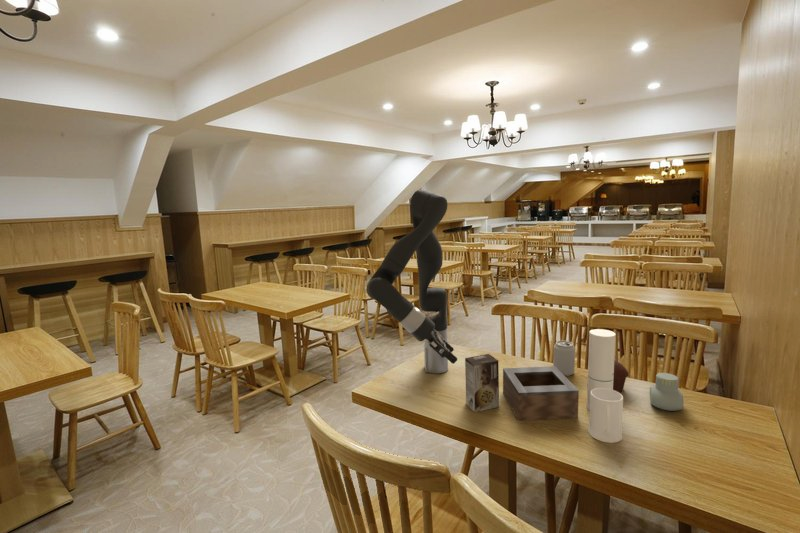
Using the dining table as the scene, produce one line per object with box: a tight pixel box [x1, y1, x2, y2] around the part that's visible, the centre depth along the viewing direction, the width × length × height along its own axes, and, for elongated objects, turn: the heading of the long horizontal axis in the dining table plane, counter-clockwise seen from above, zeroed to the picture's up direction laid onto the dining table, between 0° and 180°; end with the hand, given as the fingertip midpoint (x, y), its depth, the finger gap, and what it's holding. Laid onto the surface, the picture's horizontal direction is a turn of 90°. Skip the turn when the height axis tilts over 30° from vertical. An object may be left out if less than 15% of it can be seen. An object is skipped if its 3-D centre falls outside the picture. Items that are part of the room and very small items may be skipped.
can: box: [552, 340, 576, 377], centre depth 152 cm, size 8×8×12 cm
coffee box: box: [464, 353, 500, 413], centre depth 129 cm, size 9×6×16 cm
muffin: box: [613, 359, 630, 394], centre depth 138 cm, size 12×11×10 cm
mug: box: [587, 388, 624, 444], centre depth 110 cm, size 12×8×12 cm
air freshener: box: [649, 372, 685, 412], centre depth 125 cm, size 11×8×10 cm
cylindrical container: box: [586, 328, 616, 412], centre depth 124 cm, size 7×7×25 cm
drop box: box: [502, 365, 580, 422], centre depth 129 cm, size 18×18×9 cm
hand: (453, 356), depth 128 cm, fingers open, 8 cm apart
